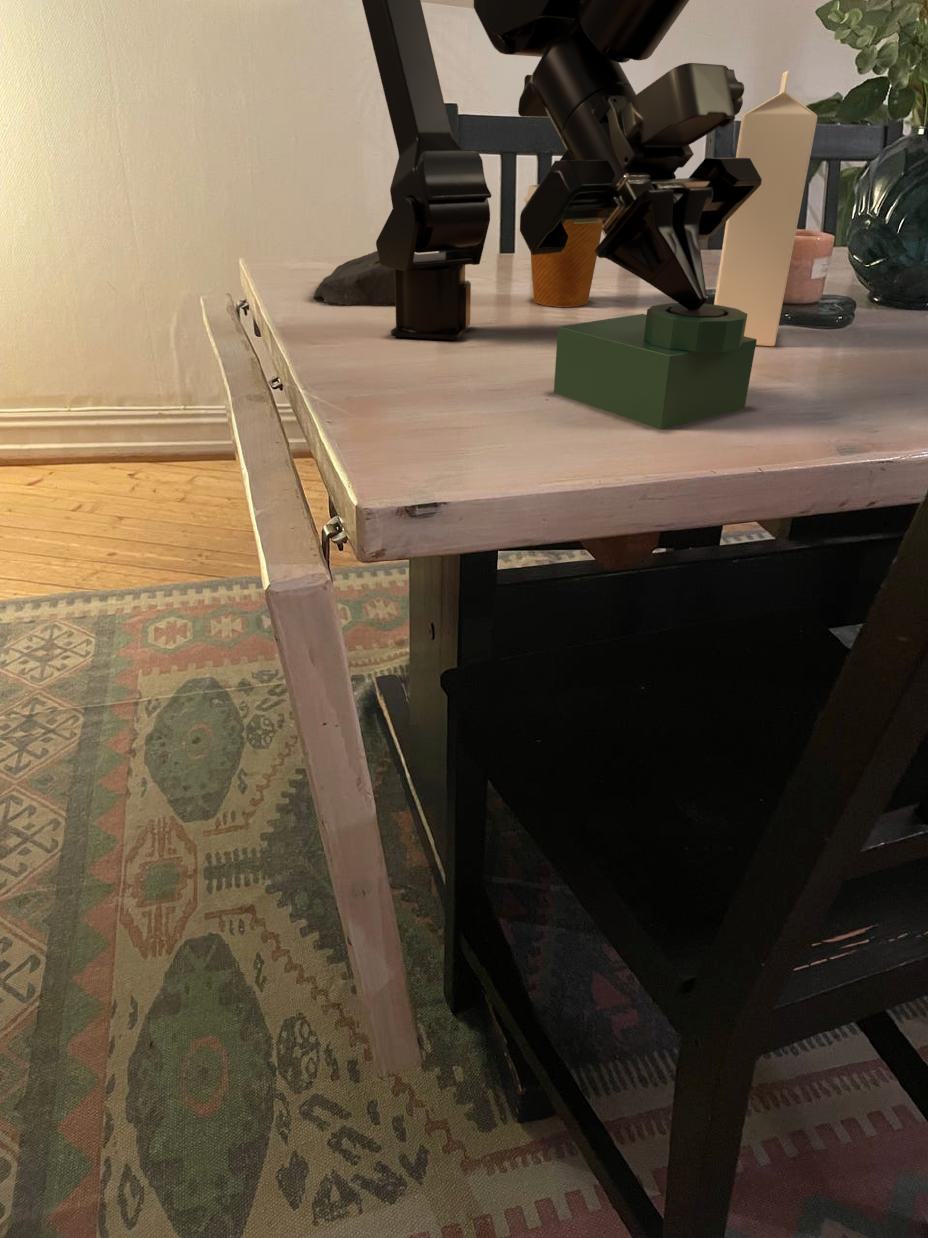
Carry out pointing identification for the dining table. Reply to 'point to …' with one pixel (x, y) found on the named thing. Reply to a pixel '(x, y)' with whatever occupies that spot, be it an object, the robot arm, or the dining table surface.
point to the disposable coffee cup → (566, 266)
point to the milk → (766, 213)
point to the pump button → (698, 312)
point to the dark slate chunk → (359, 283)
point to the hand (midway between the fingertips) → (698, 305)
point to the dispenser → (657, 365)
